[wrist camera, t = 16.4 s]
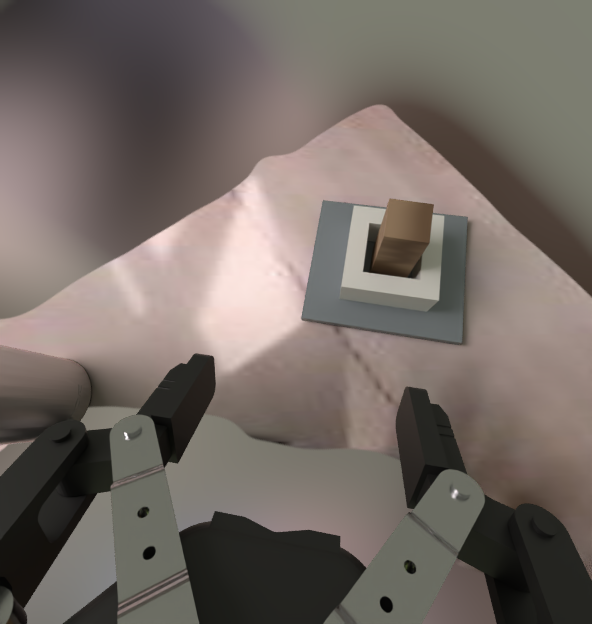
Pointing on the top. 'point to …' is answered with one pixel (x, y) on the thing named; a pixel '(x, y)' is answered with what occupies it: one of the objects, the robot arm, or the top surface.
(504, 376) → the top surface
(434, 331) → the socket plate
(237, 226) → the top surface
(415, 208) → the brown wooden block
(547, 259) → the top surface
